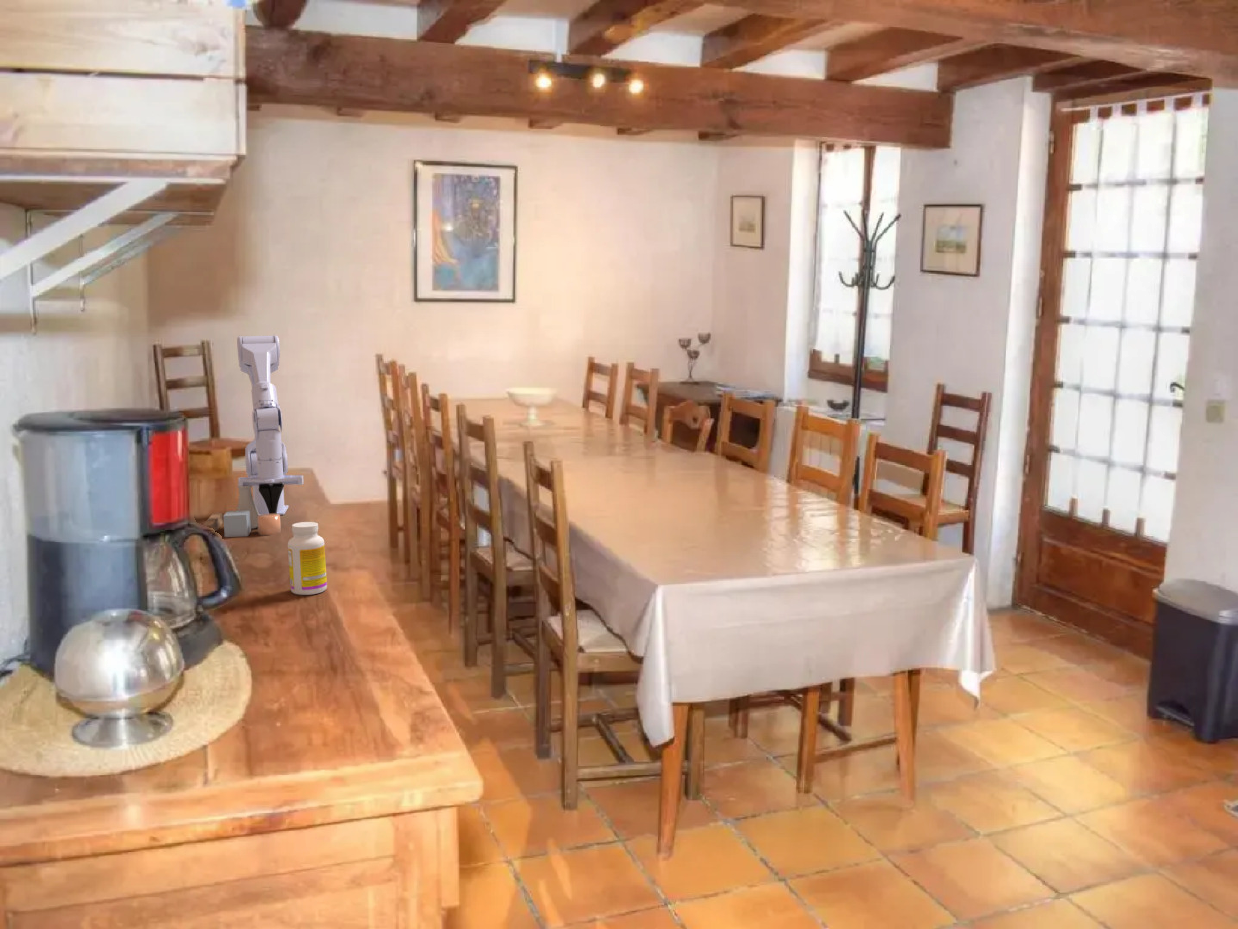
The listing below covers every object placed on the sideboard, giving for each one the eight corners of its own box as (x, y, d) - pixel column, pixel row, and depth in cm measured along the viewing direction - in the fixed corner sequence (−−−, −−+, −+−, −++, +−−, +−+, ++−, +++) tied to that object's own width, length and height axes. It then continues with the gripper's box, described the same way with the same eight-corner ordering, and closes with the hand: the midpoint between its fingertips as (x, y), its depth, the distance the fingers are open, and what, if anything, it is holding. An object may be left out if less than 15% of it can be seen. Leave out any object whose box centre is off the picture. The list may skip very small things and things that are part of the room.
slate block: (228, 532, 260) (227, 511, 260) (251, 531, 261) (249, 510, 260) (224, 537, 256) (223, 515, 255) (247, 536, 256) (246, 514, 256)
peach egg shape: (260, 530, 262) (259, 514, 261) (282, 530, 262) (281, 513, 262) (256, 535, 257) (255, 518, 256) (279, 534, 257) (278, 517, 257)
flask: (268, 523, 269) (266, 482, 267) (255, 530, 262) (252, 488, 260) (239, 523, 270) (237, 482, 268) (225, 529, 263) (223, 487, 261)
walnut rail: (214, 523, 269) (213, 513, 269) (222, 523, 270) (222, 512, 269) (202, 536, 256) (201, 526, 255) (211, 536, 256) (211, 525, 256)
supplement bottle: (334, 588, 213) (331, 522, 211) (311, 597, 207) (307, 529, 205) (306, 584, 216) (302, 519, 214) (282, 593, 210) (278, 526, 208)
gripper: (234, 462, 259) (238, 520, 261) (299, 460, 261) (302, 517, 264) (239, 457, 266) (243, 513, 268) (303, 455, 268) (306, 511, 270)
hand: (273, 515), depth 266 cm, fingers closed
